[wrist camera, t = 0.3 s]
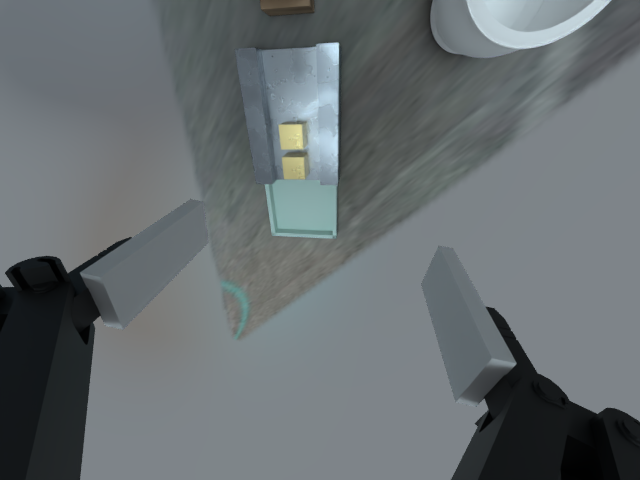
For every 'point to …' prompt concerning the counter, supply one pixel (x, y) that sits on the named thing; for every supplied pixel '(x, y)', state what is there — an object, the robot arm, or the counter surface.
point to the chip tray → (302, 208)
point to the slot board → (293, 107)
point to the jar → (506, 24)
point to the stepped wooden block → (287, 7)
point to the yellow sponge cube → (295, 165)
